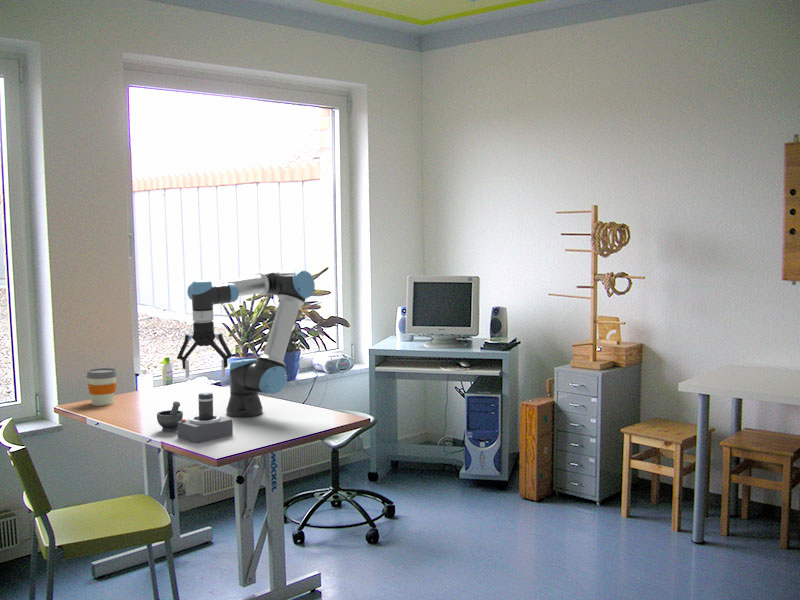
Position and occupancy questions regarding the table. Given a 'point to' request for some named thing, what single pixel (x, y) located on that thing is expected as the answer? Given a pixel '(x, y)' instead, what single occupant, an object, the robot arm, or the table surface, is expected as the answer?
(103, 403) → the reusable coffee cup
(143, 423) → the table surface
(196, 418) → the dark grey box
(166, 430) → the mortar and pestle
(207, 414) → the lens
